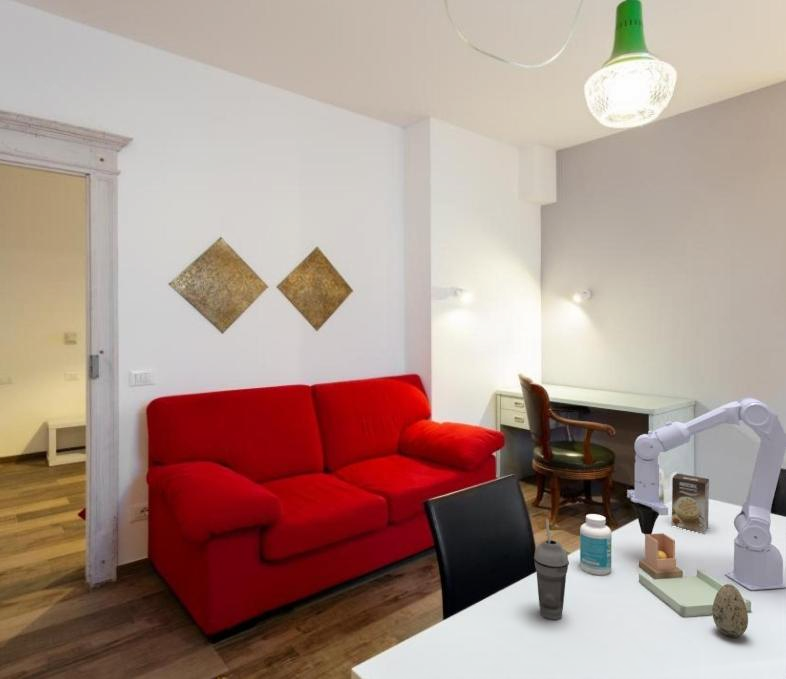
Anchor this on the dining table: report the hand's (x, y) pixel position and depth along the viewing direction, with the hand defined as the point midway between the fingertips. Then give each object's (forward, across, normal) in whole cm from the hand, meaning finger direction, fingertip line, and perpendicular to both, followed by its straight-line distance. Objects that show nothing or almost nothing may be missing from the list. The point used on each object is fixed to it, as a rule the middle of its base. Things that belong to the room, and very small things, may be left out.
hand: (646, 533), depth 135 cm
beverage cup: (+8, +20, -35) cm, 41 cm away
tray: (+8, +17, 0) cm, 19 cm away
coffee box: (+8, -19, +27) cm, 34 cm away
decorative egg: (+8, +32, -3) cm, 33 cm away
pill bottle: (+8, +2, -15) cm, 17 cm away
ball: (+5, +6, 0) cm, 8 cm away
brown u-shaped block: (+6, +6, 0) cm, 8 cm away
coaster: (+8, +6, 0) cm, 10 cm away
